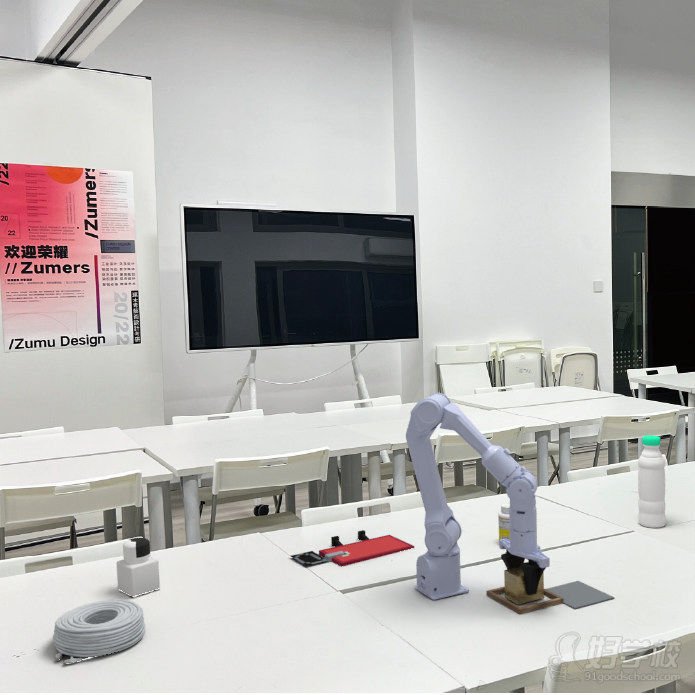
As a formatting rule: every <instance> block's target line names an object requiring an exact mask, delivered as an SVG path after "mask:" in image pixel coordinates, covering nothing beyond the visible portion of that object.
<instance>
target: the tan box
mask: <svg viewBox="0 0 695 695" xmlns="http://www.w3.org/2000/svg"><path fill="white" fill-rule="evenodd" d="M503 572H504V573H503V575H504V580H503V581H504V582H503V583H504V586H505V593H504V599H506V600H507V599H508V601H510V602H512V603H513V604H515V605H516V604H517V605H522V604H525V603H528V602H532V601H537V600H541V599H544V598H545V595H544V589H545V582H544V572H543V574H542V576H541V578H540V581H539V585H538V589H537V593H536V594H533V595H527V592H526V585H525V577H524V573H523V570H522V568H521V566H520V567H516V568H512V569H507V568H506V569H504V571H503Z"/></svg>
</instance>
